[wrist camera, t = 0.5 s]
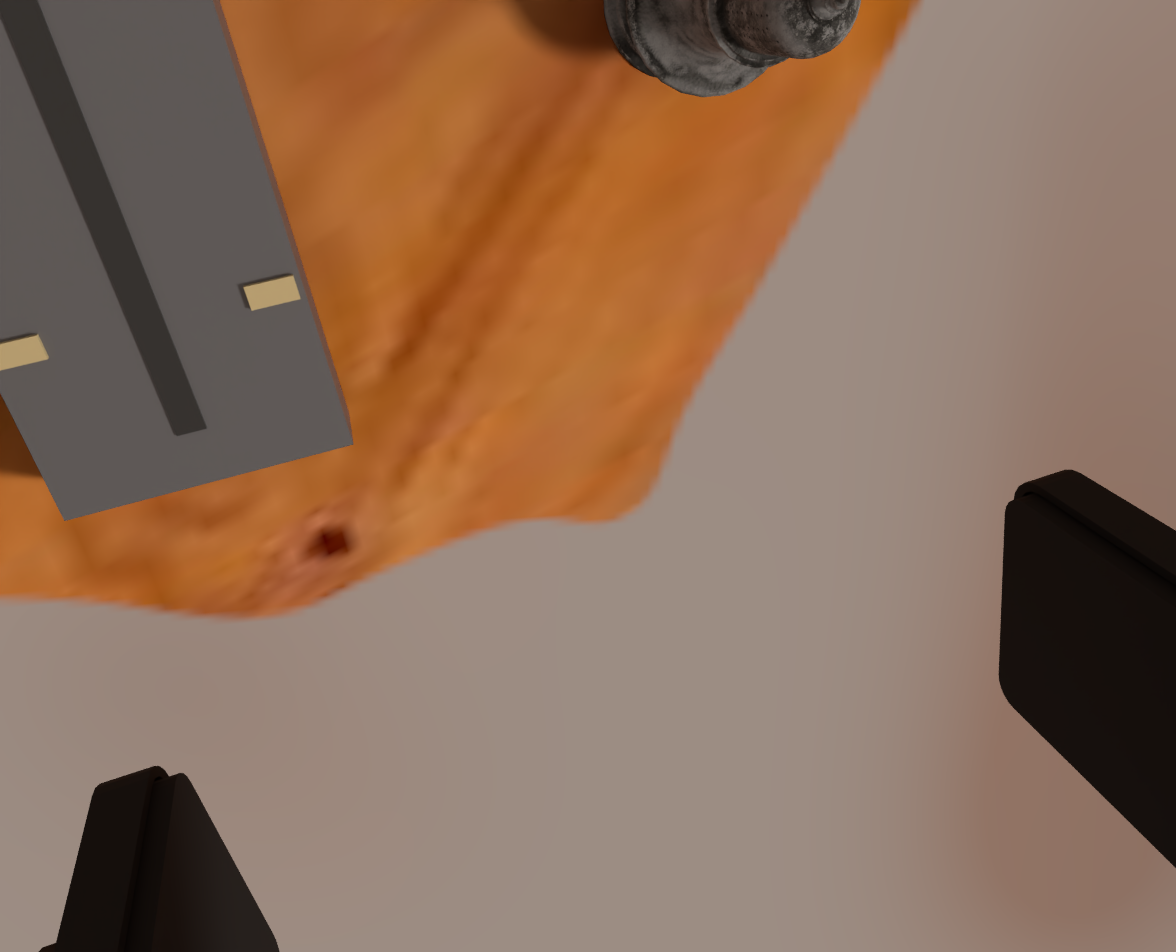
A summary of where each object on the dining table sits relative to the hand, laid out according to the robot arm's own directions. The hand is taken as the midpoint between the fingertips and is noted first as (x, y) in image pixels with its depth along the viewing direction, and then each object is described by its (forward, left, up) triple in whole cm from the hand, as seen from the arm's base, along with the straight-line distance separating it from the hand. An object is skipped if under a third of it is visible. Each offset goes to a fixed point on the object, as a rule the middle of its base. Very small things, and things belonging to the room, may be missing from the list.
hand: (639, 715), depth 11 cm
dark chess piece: (-5, +11, -28) cm, 31 cm away
